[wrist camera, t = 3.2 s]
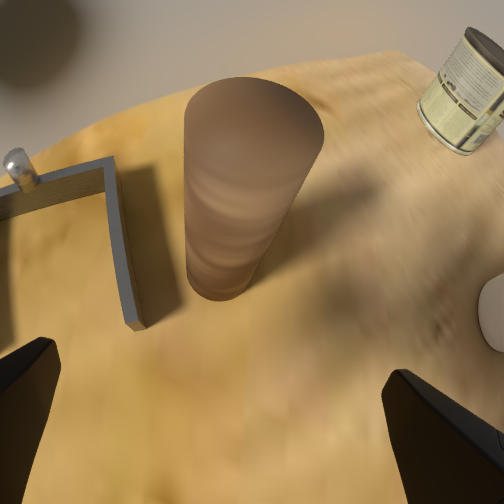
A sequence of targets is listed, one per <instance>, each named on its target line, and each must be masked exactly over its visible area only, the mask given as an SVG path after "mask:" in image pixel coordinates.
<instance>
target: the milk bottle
mask: <svg viewBox="0 0 504 504" xmlns="http://www.w3.org/2000/svg"><path fill="white" fill-rule="evenodd" d="M478 316H479V323H480V327H481V330H482V333H483V336H484V337H485V340H486V341H487V343H488V344H489V345H490V346H491V347H492V348H493V349H495V350H497V351H500V352H504V273H502V274H500V275H498V276H497V277H495V278H493V279H491V280H489V281H488V282H487V283H486V284H485V286H484V287H483V288H482V291H481V293H480V297H479V302H478Z"/></svg>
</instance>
